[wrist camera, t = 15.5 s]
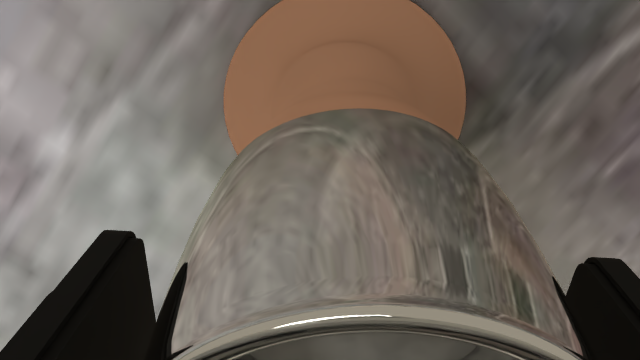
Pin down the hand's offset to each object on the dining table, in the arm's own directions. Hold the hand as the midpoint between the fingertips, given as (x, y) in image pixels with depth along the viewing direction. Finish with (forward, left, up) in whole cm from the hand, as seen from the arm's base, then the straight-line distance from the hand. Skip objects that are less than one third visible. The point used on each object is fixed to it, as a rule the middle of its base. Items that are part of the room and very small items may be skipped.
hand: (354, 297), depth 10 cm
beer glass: (0, 0, -11) cm, 11 cm away
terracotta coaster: (0, 0, -11) cm, 11 cm away
